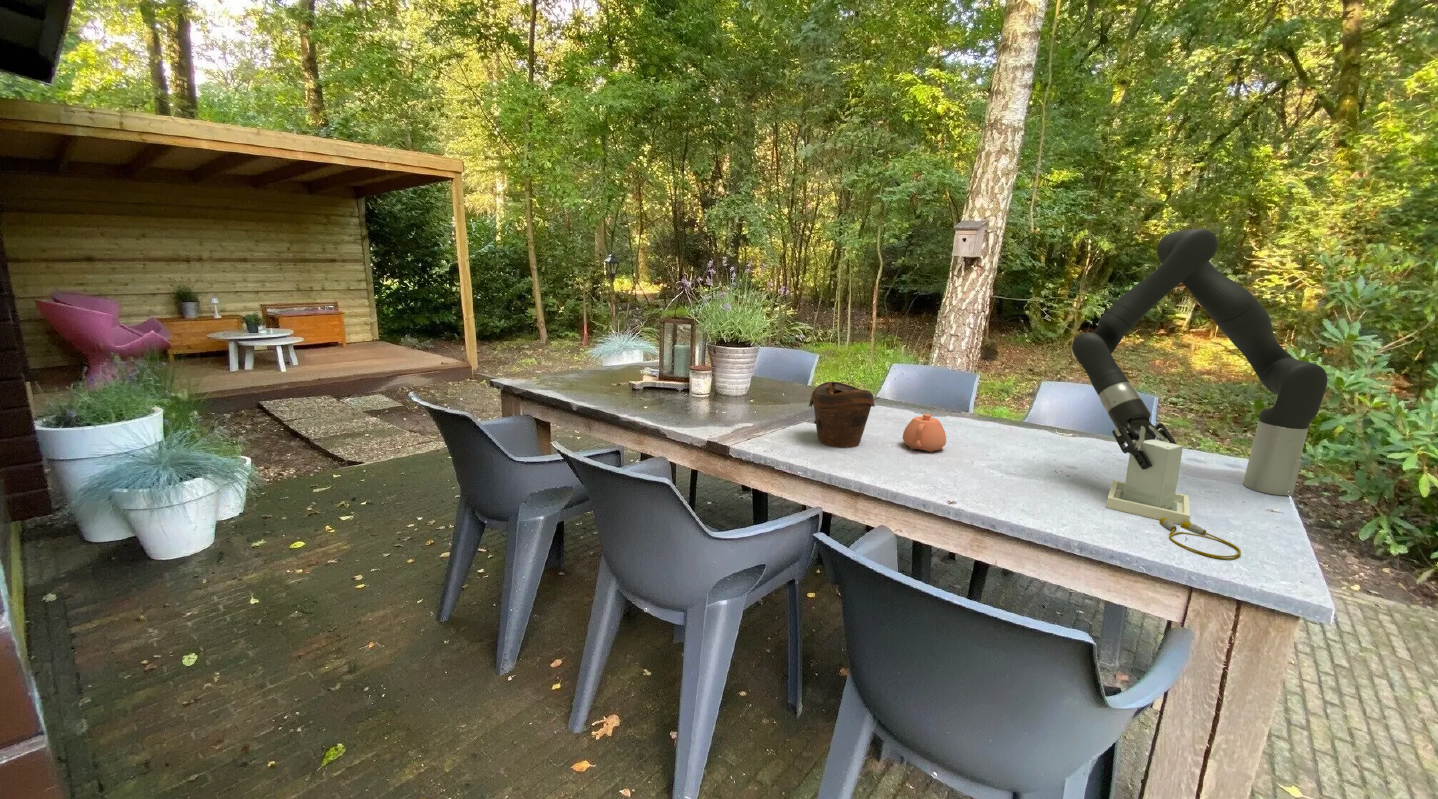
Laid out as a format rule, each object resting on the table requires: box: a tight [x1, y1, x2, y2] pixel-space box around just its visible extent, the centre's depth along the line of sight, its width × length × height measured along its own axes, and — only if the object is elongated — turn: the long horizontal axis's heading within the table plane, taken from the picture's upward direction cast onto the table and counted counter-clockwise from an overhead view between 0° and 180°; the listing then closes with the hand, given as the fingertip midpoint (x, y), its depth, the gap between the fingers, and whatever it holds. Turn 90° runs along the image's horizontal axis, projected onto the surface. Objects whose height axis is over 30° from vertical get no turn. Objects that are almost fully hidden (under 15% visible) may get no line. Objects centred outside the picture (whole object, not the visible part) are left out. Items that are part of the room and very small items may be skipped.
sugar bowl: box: [902, 413, 947, 453], centre depth 176 cm, size 12×14×10 cm
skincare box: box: [1123, 439, 1184, 509], centre depth 137 cm, size 8×6×15 cm
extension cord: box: [1158, 518, 1242, 561], centre depth 121 cm, size 12×16×2 cm
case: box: [808, 381, 875, 448], centre depth 179 cm, size 18×20×18 cm
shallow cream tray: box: [1105, 479, 1191, 526], centre depth 139 cm, size 15×15×2 cm
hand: (1161, 466), depth 135 cm, fingers open, 8 cm apart
